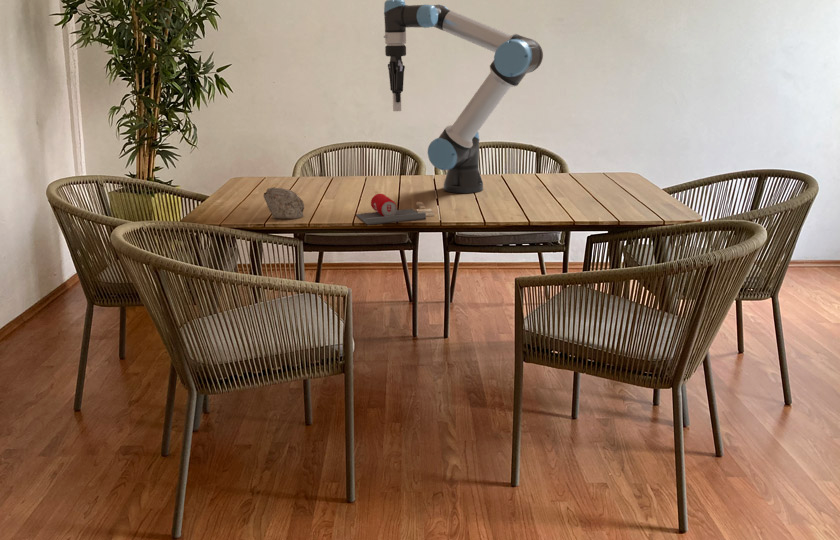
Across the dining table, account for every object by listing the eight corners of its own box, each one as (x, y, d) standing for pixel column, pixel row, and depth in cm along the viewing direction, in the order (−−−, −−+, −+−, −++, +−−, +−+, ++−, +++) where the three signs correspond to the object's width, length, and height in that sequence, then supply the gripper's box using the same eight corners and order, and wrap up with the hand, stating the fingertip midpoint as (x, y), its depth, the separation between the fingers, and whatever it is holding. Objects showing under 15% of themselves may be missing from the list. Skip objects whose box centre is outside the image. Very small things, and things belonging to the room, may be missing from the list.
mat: (412, 209, 276) (411, 204, 275) (425, 219, 263) (425, 213, 262) (356, 215, 269) (355, 209, 269) (367, 224, 257) (367, 218, 256)
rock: (298, 193, 275) (307, 189, 268) (298, 223, 274) (307, 219, 267) (260, 189, 268) (268, 185, 261) (259, 219, 267) (267, 216, 260)
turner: (411, 205, 282) (411, 202, 281) (425, 204, 283) (425, 201, 282) (419, 216, 266) (419, 213, 265) (434, 216, 267) (434, 212, 266)
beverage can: (370, 211, 273) (380, 219, 262) (369, 194, 271) (379, 201, 260) (388, 210, 275) (398, 217, 264) (387, 192, 273) (398, 199, 262)
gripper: (380, 44, 292) (382, 109, 299) (391, 45, 281) (392, 113, 288) (399, 44, 295) (401, 108, 302) (411, 45, 283) (412, 112, 290)
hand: (397, 110), depth 295 cm, fingers closed
